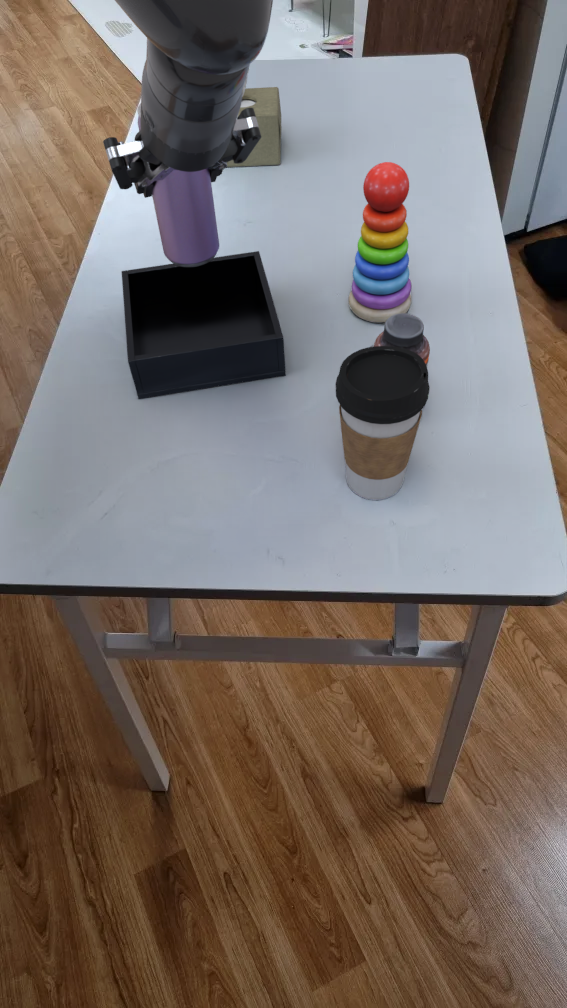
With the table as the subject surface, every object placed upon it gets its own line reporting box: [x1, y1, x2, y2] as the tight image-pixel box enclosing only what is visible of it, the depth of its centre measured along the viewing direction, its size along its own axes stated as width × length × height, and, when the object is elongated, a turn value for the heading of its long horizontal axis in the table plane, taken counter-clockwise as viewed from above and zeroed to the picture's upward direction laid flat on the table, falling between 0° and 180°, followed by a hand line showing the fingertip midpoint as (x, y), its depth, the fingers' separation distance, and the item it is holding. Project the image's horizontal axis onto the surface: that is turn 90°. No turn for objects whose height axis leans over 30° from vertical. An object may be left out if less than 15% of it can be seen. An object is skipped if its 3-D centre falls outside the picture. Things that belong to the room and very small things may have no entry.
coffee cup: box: [335, 345, 430, 501], centre depth 69 cm, size 8×8×15 cm
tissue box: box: [226, 69, 282, 168], centre depth 114 cm, size 19×10×16 cm, turn 90°
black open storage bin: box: [121, 250, 287, 400], centre depth 88 cm, size 18×18×6 cm
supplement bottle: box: [372, 312, 431, 367], centre depth 77 cm, size 6×6×11 cm
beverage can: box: [136, 102, 220, 267], centre depth 71 cm, size 6×6×15 cm
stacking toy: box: [348, 161, 412, 324], centre depth 86 cm, size 8×8×19 cm
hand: (176, 179), depth 72 cm, fingers closed on beverage can, 6 cm apart
